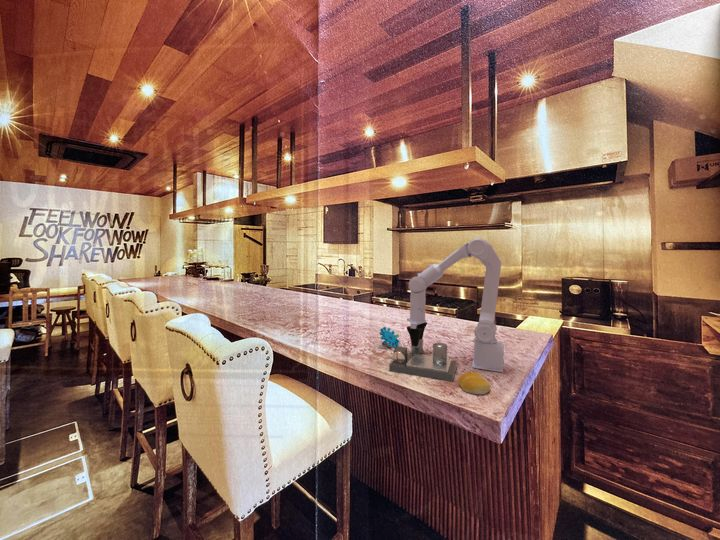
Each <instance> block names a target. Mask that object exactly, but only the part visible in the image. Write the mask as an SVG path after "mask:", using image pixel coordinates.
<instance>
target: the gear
mask: <svg viewBox="0 0 720 540" xmlns="http://www.w3.org/2000/svg"><path fill="white" fill-rule="evenodd" d="M379 331H380V332H379V336H380V339H381V340H383V341H382V342H381V345H387V344H388V345H387V346H388V347H389V348H392V349H396V348H397V346H400V342H401V340H400V339H398V338H399V337H400V334H399V333H397V334H396V332H395V331H394V330H392V331H391V328H390V327H388V328H387V327H386V326H383V327H382V328H380V330H379Z"/></svg>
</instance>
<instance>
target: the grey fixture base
mask: <svg viewBox="0 0 720 540" xmlns="http://www.w3.org/2000/svg"><path fill="white" fill-rule="evenodd" d="M408 348H409V347H405V346H400V345H398V346H396V348H394V350H393V353H392V354H391V355H392V356H391V360H392V361H391V362H390V363H389V366H388V367H389V368H388V369H389V370H388V371H390V372H395V373H401V374H407V375H411V376H416V377H417V376H418V377H424V378H430V379H435V380H442V381H447V382H453V380H454V378H455V373H456V369H457V362H458V361H457V360H453V359H452V358H449V357H447V364H446V365H436V364H434V363H433V355H427V354H423V355H421V354H413V355H412V354H411V353H408Z"/></svg>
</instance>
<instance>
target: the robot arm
mask: <svg viewBox="0 0 720 540" xmlns="http://www.w3.org/2000/svg"><path fill="white" fill-rule="evenodd" d="M472 257H474V258H475V259H478V261H479V262H480V263H481V264H483V265H484V266H485V274H484V281H483V291H482V298H481V306H480V307H481V308H480V314H479V319H478V323H477V326H475V329H474V338H473V341H474V342H473V343H474V344H473V359H472V365H471V368H472V369H478V370H486V371H493V372H500V373H504V365H505V358H504V342H501V341H498V339H497V338H496V332H497V325H496V322H495V320H496V309H497V303H498V301H497V300H498V294H499V286H500V278H501V271H502V261H501V260H502V259H500V257H499V255H498V253H497V252H496V250H495V249H494V247H493V245H492V244H491V243H489V242H488V241H487V240H485V239H483V238H481V237H476V238H472V239H471V240H470V241H469V242H466V243H464V244H463V245H461V246H460V247H458V248H456V249H455V251H453V252H452V253H450V254H449V255H448V256H447V257H446V258H444V259H443V260H442V261H440V262H439V263H438V264H437V263H432V264H430V263H429V264H428V265H427V266H426V267H427V268H426V269H424V270H423V271H422V272H418V273H417V274H416V275H417V276H413V277H411V279H409V282H408V288H409V290H410V295H409V298H410V299H409V300H410V303H409V317H408V318H406V321H408V322H409V324H410V326H406V330H407V332H408V334H409V338H410V343H411V344H412V346H418V343H419V338H422V339H423V337H424V332H425V329H426V327H427V324H428V322H426V299H427V297H426V291H427V289H428V287H429V286H431V285H432V284H434V283H436V282H437V281H439V279H441V278H442V277H443V276H444V272H445V271H446V270H447V269H449V268H450V267H452V266H453V265H455V264H456V263H458V262H460V261H461V260H462V259H465V258H472Z"/></svg>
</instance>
